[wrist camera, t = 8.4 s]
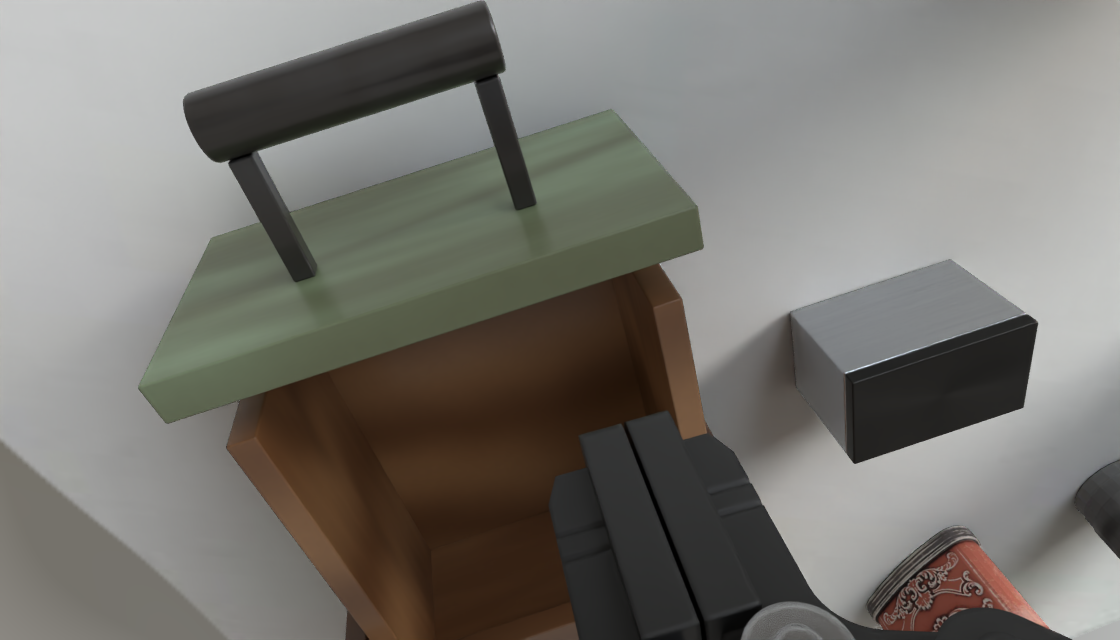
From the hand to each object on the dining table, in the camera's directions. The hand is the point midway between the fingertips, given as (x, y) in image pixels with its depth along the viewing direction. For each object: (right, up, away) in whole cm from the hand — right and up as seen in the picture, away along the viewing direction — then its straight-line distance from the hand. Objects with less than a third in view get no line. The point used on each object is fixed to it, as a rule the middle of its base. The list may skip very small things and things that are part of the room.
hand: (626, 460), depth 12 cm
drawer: (-4, +2, +14) cm, 15 cm away
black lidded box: (+12, +2, +19) cm, 23 cm away
